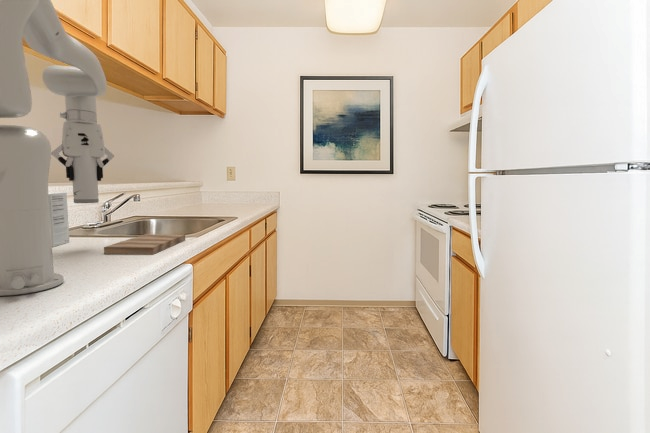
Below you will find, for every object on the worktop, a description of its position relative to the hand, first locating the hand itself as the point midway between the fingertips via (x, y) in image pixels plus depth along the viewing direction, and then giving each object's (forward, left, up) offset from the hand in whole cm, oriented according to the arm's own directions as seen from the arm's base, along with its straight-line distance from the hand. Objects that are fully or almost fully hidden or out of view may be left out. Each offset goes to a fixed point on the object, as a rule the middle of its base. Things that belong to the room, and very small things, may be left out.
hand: (85, 180), depth 110 cm
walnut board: (-6, -15, -21) cm, 26 cm away
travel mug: (0, 0, -7) cm, 7 cm away
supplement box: (+18, +9, -21) cm, 29 cm away
